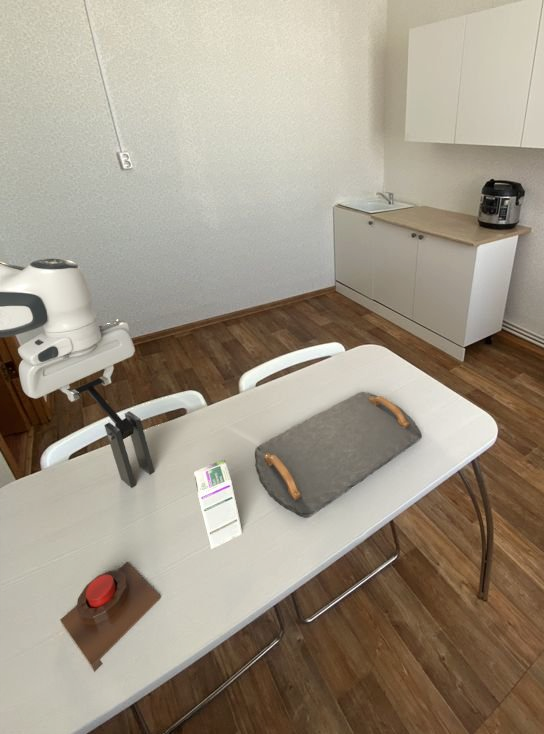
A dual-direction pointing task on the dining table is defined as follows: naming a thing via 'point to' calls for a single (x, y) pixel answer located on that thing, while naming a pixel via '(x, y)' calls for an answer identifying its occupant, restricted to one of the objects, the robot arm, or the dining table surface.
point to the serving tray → (333, 452)
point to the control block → (109, 615)
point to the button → (100, 590)
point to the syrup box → (218, 503)
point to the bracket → (121, 452)
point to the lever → (107, 408)
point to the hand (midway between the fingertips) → (90, 391)
